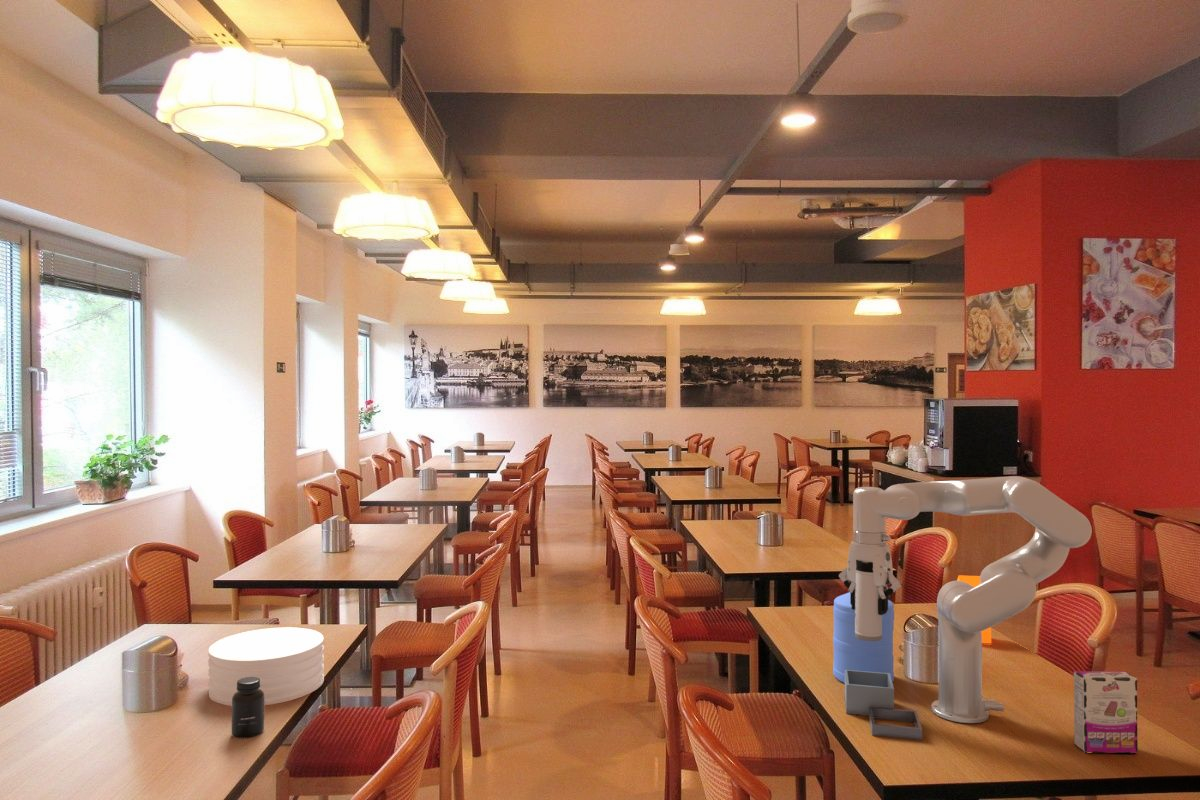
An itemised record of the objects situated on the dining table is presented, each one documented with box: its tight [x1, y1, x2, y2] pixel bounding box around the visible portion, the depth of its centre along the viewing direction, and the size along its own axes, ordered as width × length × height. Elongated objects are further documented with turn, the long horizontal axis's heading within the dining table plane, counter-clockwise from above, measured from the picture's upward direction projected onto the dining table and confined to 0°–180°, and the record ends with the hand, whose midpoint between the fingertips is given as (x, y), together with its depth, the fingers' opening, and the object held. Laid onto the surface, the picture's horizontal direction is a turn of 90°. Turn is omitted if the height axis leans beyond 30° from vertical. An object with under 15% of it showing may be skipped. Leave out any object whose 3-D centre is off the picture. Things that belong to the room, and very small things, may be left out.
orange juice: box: [956, 574, 992, 644], centre depth 253 cm, size 8×9×20 cm
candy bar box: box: [1073, 670, 1139, 753], centre depth 176 cm, size 11×5×16 cm, turn 87°
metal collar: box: [868, 707, 923, 741], centre depth 187 cm, size 11×11×2 cm
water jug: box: [832, 591, 895, 684], centre depth 219 cm, size 16×16×28 cm
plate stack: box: [207, 626, 325, 707], centre depth 214 cm, size 28×28×12 cm
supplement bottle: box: [231, 677, 265, 739], centre depth 184 cm, size 7×7×12 cm
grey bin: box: [844, 670, 895, 717], centre depth 199 cm, size 11×11×7 cm
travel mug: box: [855, 560, 882, 641], centre depth 199 cm, size 6×7×20 cm
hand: (868, 610), depth 199 cm, fingers closed on travel mug, 6 cm apart
